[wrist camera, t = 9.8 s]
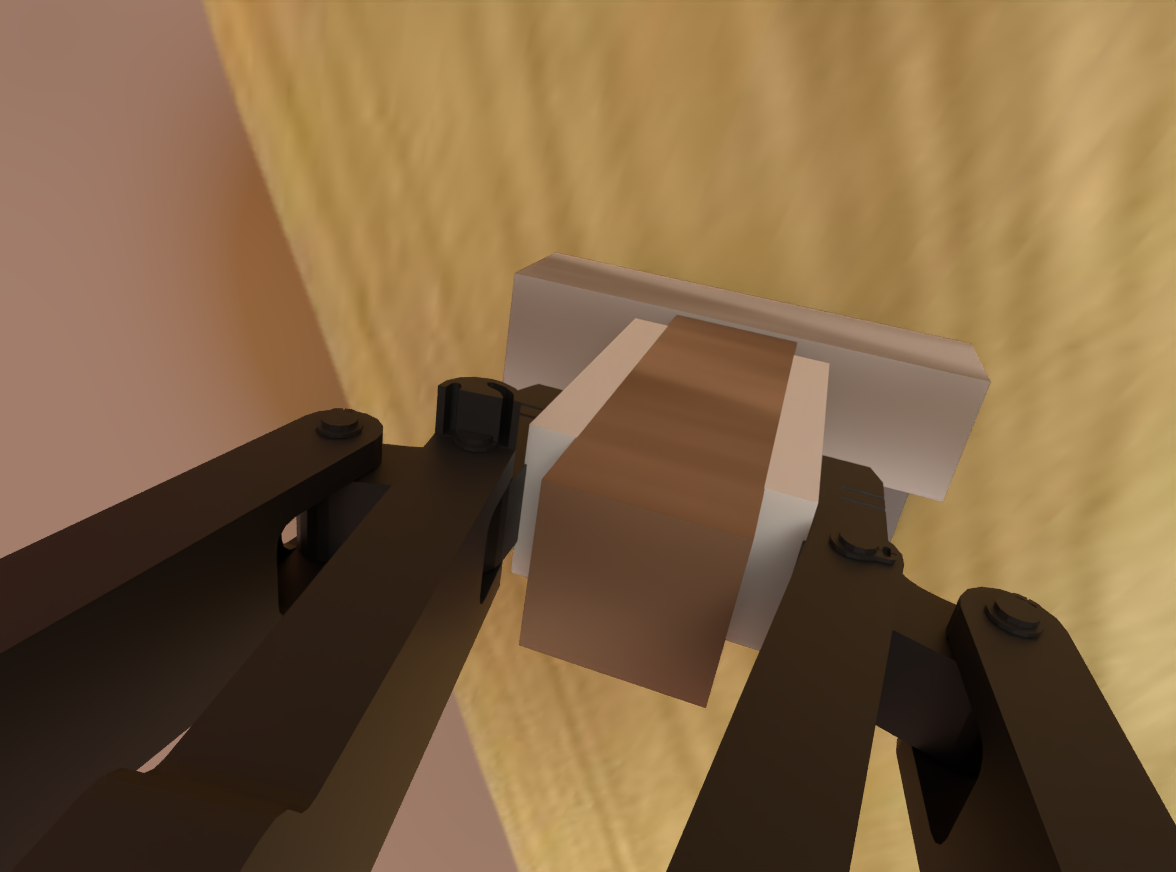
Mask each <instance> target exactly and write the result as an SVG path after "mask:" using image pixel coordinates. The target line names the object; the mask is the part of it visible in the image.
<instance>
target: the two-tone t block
mask: <svg viewBox="0 0 1176 872" xmlns="http://www.w3.org/2000/svg"><path fill="white" fill-rule="evenodd" d="M635 318H637V319H641V320H645V321H650V322H654V323H658V324H663V325H667V326H668V327H667V328H666V329H665V330H664V332H663V333H662V334H661V335H660V336H659V338H658V339H657V340H656V341H655V343H654V344H653V345H652V346H651V348H650V349H649V350H648V351H647V352H646V354H645V355H644V356H643V357H642V359H641V360H640V361H639V362H638V363H637V365H636V366H635V367H634V368H633V370H632V371H631V372H630V373H629V374H628V376H627V377H626V378H625V379H624V381H623V382H622V383H621V384H620V385H619V387H618V388H617V389H616V390H615V392H614V393H613V394H612V395H611V397H610V398H609V399H608V400H607V401H606V403H605V404H604V405H603V406H602V408H601V409H600V410H599V411H598V412H597V414H596V415H595V416H594V417H593V419H592V420H591V421H590V422H589V423H588V425H587V426H586V427H585V428H584V430H583V431H582V432H581V433H580V434H579V436H578V437H577V438H575V439H574V440H573V442H572V443H571V444H570V445H569V446H568V448H567V449H566V450H565V451H564V453H563V454H562V455H561V456H560V457H559V459H558V460H557V461H556V462H555V464H554V465H553V466H552V467H551V468H550V470H549V471H548V472H547V473H546V474H545V476H544V477H543V478H542V480H541V487H540V495H539V502H538V509H537V517H536V524H535V531H534V539H533V546H532V553H531V560H530V568H529V575H528V582H527V590H526V597H525V604H524V611H523V619H522V626H521V633H520V641H519V645H520V646H523V647H526V648H529V649H532V650H535V651H538V652H541V653H544V654H547V655H550V656H553V657H556V658H559V659H561V660H564V661H567V662H570V663H573V664H576V665H579V666H582V667H585V668H588V669H591V670H594V671H597V672H600V673H603V674H606V675H609V676H612V677H615V678H618V679H621V680H624V681H627V682H630V683H633V684H636V685H639V686H642V687H645V688H648V689H650V690H653V691H656V692H659V693H662V694H665V695H668V696H671V697H674V698H677V699H680V700H683V701H686V702H689V703H692V704H695V705H698V706H701V707H704V708H706V706H707V702H708V699H709V695H710V692H711V688H712V685H713V681H714V678H715V674H716V670H717V667H718V663H719V660H720V656H721V653H722V649H723V646H724V642H725V639H726V635H727V632H728V628H729V625H730V621H731V618H732V614H733V611H734V607H735V604H736V600H737V597H738V593H739V590H740V586H741V583H742V579H743V576H744V572H745V569H746V565H747V562H748V558H749V555H750V551H751V548H752V544H753V540H754V536H755V532H756V527H757V523H758V518H759V513H760V509H761V504H762V500H763V495H764V491H765V489H764V486H765V482H766V477H767V473H768V468H769V464H770V459H771V455H772V451H773V446H774V442H775V437H776V433H777V428H778V424H779V419H780V415H781V410H782V406H783V402H784V397H785V393H786V388H787V384H788V379H789V375H790V370H791V366H792V362H793V357H794V355H796V356H800V357H804V358H808V359H813V360H817V361H821V362H826V363H830V364H829V376H828V388H827V401H826V413H825V426H824V438H823V450H822V455H824V456H828V457H832V458H836V459H840V460H844V461H848V462H852V463H855V464H859V465H863V466H867V467H871V469H872V470H873V471H874V472H875V474H876V475H877V476H878V477H879V478H880V480H881V481H882V482H883V486H884V487H888V488H892V489H896V490H899V491H903V492H907V493H911V494H915V495H918V496H922V497H926V498H930V499H934V500H937V501H941V502H943V500H944V497H945V495H946V492H947V490H948V487H949V485H950V482H951V480H952V477H953V475H954V472H955V470H956V467H957V465H958V462H959V460H960V457H961V455H962V452H963V450H964V447H965V445H966V442H967V440H968V437H969V435H970V432H971V430H972V427H973V425H974V423H975V420H976V418H977V415H978V413H979V410H980V408H981V405H982V403H983V400H984V398H985V395H986V393H987V390H988V388H989V385H990V383H991V381H990V379H989V377H988V375H987V373H986V371H985V369H984V367H983V365H982V363H981V362H980V360H979V358H978V356H977V354H976V352H975V350H974V348H973V346H972V344H971V343H966V342H962V341H957V340H953V339H948V338H944V337H939V336H934V335H930V334H925V333H921V332H916V331H912V330H907V329H903V328H898V327H893V326H889V325H884V324H880V323H875V322H871V321H866V320H862V319H857V318H852V317H848V316H843V315H839V314H834V313H830V312H825V311H821V310H816V309H811V308H807V307H802V306H798V305H793V304H789V303H784V302H780V301H775V300H770V299H766V298H761V297H757V296H752V295H748V294H743V293H738V292H734V291H729V290H725V289H720V288H716V287H711V286H707V285H702V284H697V283H693V282H688V281H684V280H679V279H675V278H670V277H666V276H661V275H656V274H652V273H647V272H643V271H638V270H634V269H629V268H625V267H620V266H615V265H611V264H606V263H602V262H597V261H593V260H588V259H584V258H579V257H574V256H570V255H565V254H561V253H556V252H555V253H554V254H552V255H550V256H548V257H546V258H544V259H542V260H540V261H538V262H536V263H534V264H532V265H530V266H528V267H526V268H524V269H522V270H520V271H518V272H516V273H515V274H514V283H513V293H512V302H511V311H510V321H509V330H508V340H507V349H506V359H505V368H504V378H503V382H504V383H506V384H508V385H510V386H512V387H514V388H516V389H517V390H519V389H523V388H526V387H529V386H533V385H536V384H542V385H545V386H549V387H553V388H557V389H561V390H564V389H565V388H566V387H567V386H568V385H569V384H570V383H571V382H572V381H573V380H574V379H575V378H576V377H577V376H578V375H579V374H580V373H581V372H582V371H583V370H584V369H585V368H586V367H587V366H588V365H589V364H590V363H591V362H592V361H593V360H594V359H595V358H596V357H597V356H598V355H599V354H600V353H601V352H602V351H603V350H604V349H605V348H606V347H607V346H608V345H609V344H610V343H611V342H612V341H613V340H614V339H615V338H616V337H617V336H618V335H619V334H620V333H621V332H622V331H623V330H624V329H625V328H626V327H627V326H628V325H629V324H630V323H631V322H632V321H633V320H634V319H635Z"/></svg>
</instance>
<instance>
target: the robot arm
mask: <svg viewBox="0 0 1176 872" xmlns="http://www.w3.org/2000/svg"><path fill="white" fill-rule="evenodd" d="M667 327H668V326H667V325H663V324H658V323H654V322H650V321H645V320H641V319H637V318H635V319H634V320H633V321H632V322H631V323H630V324H629V325H628V326H627V327H626V328H625V329H624V330H623V331H622V332H621V333H620V334H619V335H618V336H617V337H616V338H615V339H614V340H613V341H612V342H611V343H610V344H609V345H608V346H607V347H606V348H605V349H604V350H603V351H602V352H601V353H600V354H599V355H598V356H597V357H596V358H595V359H594V360H593V361H592V362H591V363H590V364H589V365H588V366H587V367H586V368H585V369H584V370H583V371H582V372H581V373H580V374H579V375H578V376H577V377H576V378H575V379H574V380H573V381H572V382H571V383H570V384H569V385H568V386H567V387H566V388H565V389H564V390H561V389H557V388H553V387H549V386H545V385H542V384H536V385H533V386H529V387H526V388H523V389H519V390H517V389H516V388H514V387H512V386H510V385H508V384H506V383H504V382H500V381H497V380H493V379H487V378H479V377H460V378H455V379H451V380H446V381H445V382H443V383H441V384H440V385H438V396H437V411H436V426H435V434H434V435H433V436H432V437H431V439H430V440H429V441H428V442H427V443H426V445H425V446H424V447H409V446H399V445H390V444H382V443H383V425H382V424H381V423H380V422H379V420H378V419H376V418H374V417H372V416H370V415H368V414H365V413H361V412H357V411H355V410H352V409H345V410H343V409H341V408H335V409H331V410H326V411H319V412H315V413H312V414H309V415H306V416H304V417H302V418H299V419H297V420H295V421H293V422H291V423H289V424H286V425H284V426H282V427H280V428H278V429H276V430H274V431H272V432H269V433H267V434H265V435H263V436H261V437H259V438H257V439H255V440H252V441H250V442H248V443H246V444H244V445H242V446H240V447H237V448H235V449H233V450H231V451H229V452H227V453H225V454H223V455H221V456H218V457H216V458H214V459H212V460H210V461H208V462H205V463H203V464H201V465H199V466H197V467H195V468H193V469H190V470H188V471H187V472H184V473H182V474H180V475H178V476H176V477H173V478H171V479H169V480H167V481H165V482H163V483H161V484H159V485H156V486H154V487H152V488H150V489H148V490H146V491H144V492H141V493H139V494H137V495H135V496H133V497H131V498H129V499H127V500H124V501H122V502H120V503H118V504H116V505H114V506H112V507H109V508H108V509H105V510H103V511H101V512H99V513H97V514H95V515H92V516H90V517H88V518H86V519H84V520H82V521H80V522H78V523H76V524H73V525H71V526H69V527H67V528H65V529H63V530H61V531H59V532H56V533H54V534H52V535H50V536H48V537H46V538H43V539H41V540H39V541H37V542H35V543H33V544H31V545H29V546H26V547H24V548H22V549H20V550H18V551H16V552H14V553H12V554H9V555H7V556H5V557H3V558H1V559H0V872H371V870H372V868H373V865H374V863H375V861H376V859H377V857H378V854H379V852H380V850H381V848H382V845H383V843H384V841H385V839H386V836H387V834H388V832H389V830H390V828H391V825H392V823H393V821H394V819H395V817H396V814H397V812H398V810H399V808H400V805H401V803H402V801H403V799H404V796H405V794H406V792H407V790H408V788H409V786H410V783H411V781H412V779H413V777H414V774H415V772H416V770H417V768H418V766H419V763H420V761H421V759H422V757H423V754H424V752H425V750H426V748H427V746H428V743H429V741H430V739H431V737H432V734H433V732H434V730H435V728H436V726H437V723H438V721H439V719H440V717H441V714H442V712H443V710H444V708H445V706H446V703H447V701H448V699H449V697H450V695H451V692H452V690H453V688H454V686H455V683H456V681H457V679H458V677H459V675H460V672H461V670H462V668H463V666H464V663H465V661H466V659H467V657H468V655H469V652H470V650H471V648H472V646H473V643H474V641H475V639H476V637H477V635H478V632H479V630H480V628H481V626H482V624H483V621H484V619H485V617H486V615H487V612H488V610H489V608H490V606H491V604H492V601H493V599H494V597H495V595H496V592H497V590H498V588H499V586H500V578H501V570H502V561H503V559H504V558H505V557H506V555H507V554H508V553H509V552H510V550H511V549H512V548H513V546H514V552H513V560H512V568H511V572H512V573H515V574H518V575H521V576H525V577H528V575H529V568H530V560H531V553H532V546H533V539H534V531H535V524H536V517H537V509H538V502H539V495H540V487H541V480H542V478H543V477H544V476H545V474H546V473H547V472H548V471H549V470H550V468H551V467H552V466H553V465H554V464H555V462H556V461H557V460H558V459H559V457H560V456H561V455H562V454H563V453H564V451H565V450H566V449H567V448H568V446H569V445H570V444H571V443H572V442H573V440H574V439H575V438H577V437H578V436H579V434H580V433H581V432H582V431H583V430H584V428H585V427H586V426H587V425H588V423H589V422H590V421H591V420H592V419H593V417H594V416H595V415H596V414H597V412H598V411H599V410H600V409H601V408H602V406H603V405H604V404H605V403H606V401H607V400H608V399H609V398H610V397H611V395H612V394H613V393H614V392H615V390H616V389H617V388H618V387H619V385H620V384H621V383H622V382H623V381H624V379H625V378H626V377H627V376H628V374H629V373H630V372H631V371H632V370H633V368H634V367H635V366H636V365H637V363H638V362H639V361H640V360H641V359H642V357H643V356H644V355H645V354H646V352H647V351H648V350H649V349H650V348H651V346H652V345H653V344H654V343H655V341H656V340H657V339H658V338H659V336H660V335H661V334H662V333H663V332H664V330H665V329H666V328H667ZM829 364H830V363H826V362H821V361H817V360H813V359H808V358H804V357H800V356H796V355H794V357H793V362H792V366H791V370H790V375H789V379H788V384H787V388H786V393H785V397H784V402H783V406H782V410H781V415H780V419H779V424H778V428H777V433H776V437H775V442H774V446H773V451H772V455H771V459H770V464H769V468H768V473H767V477H766V482H765V486H764V489H765V491H764V495H763V500H762V504H761V509H760V513H759V518H758V523H757V527H756V532H755V536H754V540H753V544H752V548H751V551H750V555H749V558H748V562H747V565H746V569H745V572H744V576H743V579H742V583H741V586H740V590H739V593H738V597H737V600H736V604H735V607H734V611H733V614H732V618H731V621H730V625H729V628H728V632H727V635H726V639H725V640H727V641H730V642H733V643H737V644H740V645H743V646H746V647H749V648H752V649H755V650H759V651H760V652H759V654H758V656H757V659H756V661H755V663H754V666H753V668H752V670H751V673H750V675H749V678H748V680H747V682H746V685H745V687H744V689H743V692H742V694H741V696H740V699H739V701H738V703H737V706H736V708H735V711H734V713H733V715H732V718H731V720H730V722H729V725H728V727H727V729H726V732H725V734H724V737H723V739H722V741H721V744H720V746H719V748H718V751H717V753H716V755H715V758H714V760H713V762H712V765H711V767H710V770H709V772H708V774H707V777H706V779H705V781H704V784H703V786H702V788H701V791H700V793H699V796H698V798H697V800H696V803H695V805H694V807H693V810H692V812H691V814H690V817H689V819H688V821H687V824H686V826H685V829H684V831H683V833H682V836H681V838H680V840H679V843H678V845H677V847H676V850H675V852H674V854H673V857H672V859H671V862H670V864H669V866H668V869H667V871H666V872H849V871H850V865H851V860H852V854H853V848H854V843H855V837H856V832H857V826H858V820H859V815H860V809H861V804H862V798H863V792H864V787H865V781H866V776H867V770H868V764H869V759H870V753H871V748H872V742H873V736H874V731H875V725H877V726H878V727H880V728H882V729H884V730H885V731H887V732H889V733H891V734H892V735H894V736H896V737H898V739H897V748H896V754H897V759H898V764H899V769H900V774H901V779H902V784H903V789H904V794H905V799H906V804H907V809H908V814H909V819H910V824H911V829H912V834H913V839H914V844H915V849H916V854H917V859H918V865H919V870H920V872H1176V825H1175V823H1174V821H1173V819H1172V818H1171V816H1170V814H1169V812H1168V810H1167V809H1166V807H1165V805H1164V803H1163V802H1162V800H1161V798H1160V796H1159V794H1158V793H1157V791H1156V789H1155V787H1154V785H1153V784H1152V782H1151V780H1150V778H1149V776H1148V775H1147V773H1146V771H1145V769H1144V768H1143V766H1142V764H1141V762H1140V760H1139V759H1138V757H1137V755H1136V753H1135V751H1134V750H1133V748H1132V746H1131V744H1130V742H1129V741H1128V739H1127V737H1126V735H1125V734H1124V732H1123V730H1122V728H1121V726H1120V725H1119V723H1118V721H1117V719H1116V717H1115V716H1114V714H1113V712H1112V710H1111V709H1110V707H1109V705H1108V703H1107V701H1106V700H1105V698H1104V696H1103V694H1102V692H1101V691H1100V689H1099V687H1098V685H1097V683H1096V682H1095V680H1094V678H1093V676H1092V675H1091V673H1090V671H1089V669H1088V667H1087V666H1086V664H1085V662H1084V660H1083V658H1082V657H1081V655H1080V653H1079V651H1078V649H1077V648H1076V646H1075V644H1074V642H1073V641H1072V639H1071V637H1070V635H1069V633H1068V632H1067V630H1066V629H1065V628H1064V627H1063V626H1062V624H1061V623H1060V622H1059V621H1058V620H1057V618H1055V617H1054V616H1053V615H1051V614H1050V613H1049V612H1047V611H1046V610H1045V609H1043V608H1042V607H1041V606H1040V605H1039V604H1037V603H1036V602H1034V601H1032V600H1030V599H1029V600H1027V598H1026V597H1024V596H1022V595H1019V594H1016V593H1010V592H1007V591H1004V590H1001V589H995V588H987V587H977V588H971V589H967V590H966V591H965V592H964V593H963V594H962V595H961V596H960V598H959V600H958V602H957V605H955V604H953V603H951V602H949V601H946V600H944V599H942V598H940V597H938V596H936V595H934V594H932V593H930V592H928V591H926V590H924V589H922V588H920V587H919V586H917V585H916V584H914V583H913V582H912V581H910V580H909V579H907V578H906V577H905V576H904V575H903V568H904V562H903V557H902V554H901V553H900V552H899V551H898V550H897V548H896V547H895V546H894V545H893V544H892V543H890V542H889V541H888V532H887V520H886V511H885V500H884V486H883V482H882V481H881V480H880V478H879V477H878V476H877V475H876V474H875V472H874V471H873V470H872V469H871V467H867V466H863V465H859V464H855V463H852V462H848V461H844V460H840V459H836V458H832V457H828V456H824V455H822V450H823V438H824V426H825V413H826V401H827V388H828V376H829ZM294 517H297V536H296V537H295V538H293V539H292V540H290V541H289V542H287V543H285V544H283V542H282V535H281V533H282V532H283V530H284V528H285V526H286V525H287V524H288V523H289V522H290V521H291V520H292V519H294ZM189 727H190V729H189V730H188V731H187V732H186V733H185V735H184V736H183V737H182V738H181V739H180V741H179V742H178V743H177V744H176V745H175V747H174V748H173V749H172V750H171V751H170V753H169V754H168V755H167V756H166V757H165V758H164V760H163V761H161V762H160V764H159V765H157V766H156V767H155V768H154V769H152V770H150V771H148V772H145V773H142V772H138V771H136V770H138V769H139V768H140V767H141V766H143V765H144V764H145V763H146V762H147V761H149V760H150V759H151V758H152V757H153V756H155V755H156V754H157V753H159V752H160V751H161V750H162V749H163V748H165V747H166V746H167V745H168V744H169V743H171V742H172V741H173V740H175V739H176V738H177V737H178V736H179V735H181V734H182V733H183V732H184V731H186V730H187V729H188V728H189Z"/></svg>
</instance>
